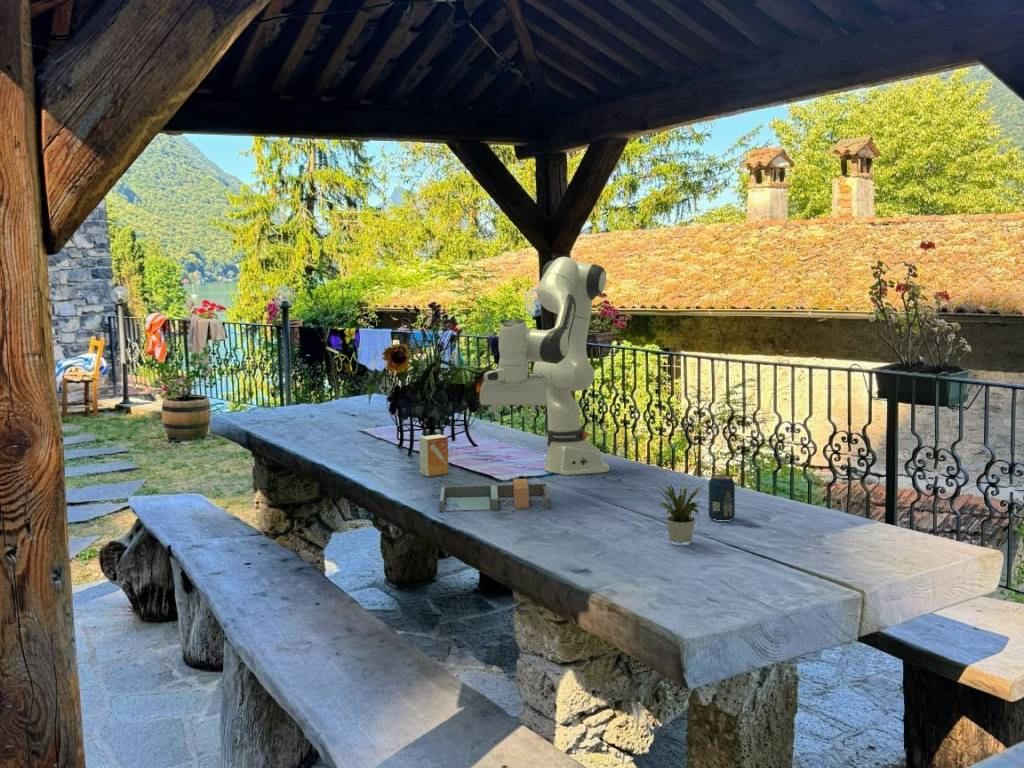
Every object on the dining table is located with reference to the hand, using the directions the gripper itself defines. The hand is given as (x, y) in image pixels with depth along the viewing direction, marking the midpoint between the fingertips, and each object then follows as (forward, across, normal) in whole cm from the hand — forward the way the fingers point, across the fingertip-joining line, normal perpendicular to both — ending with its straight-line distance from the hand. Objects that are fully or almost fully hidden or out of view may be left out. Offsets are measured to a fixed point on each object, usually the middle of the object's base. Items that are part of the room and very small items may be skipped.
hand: (513, 419), depth 278 cm
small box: (+25, +30, -37) cm, 54 cm away
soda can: (+24, -59, +22) cm, 67 cm away
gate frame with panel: (+25, +5, +4) cm, 26 cm away
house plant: (+25, -44, +44) cm, 67 cm away
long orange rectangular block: (+25, -2, +3) cm, 25 cm away
